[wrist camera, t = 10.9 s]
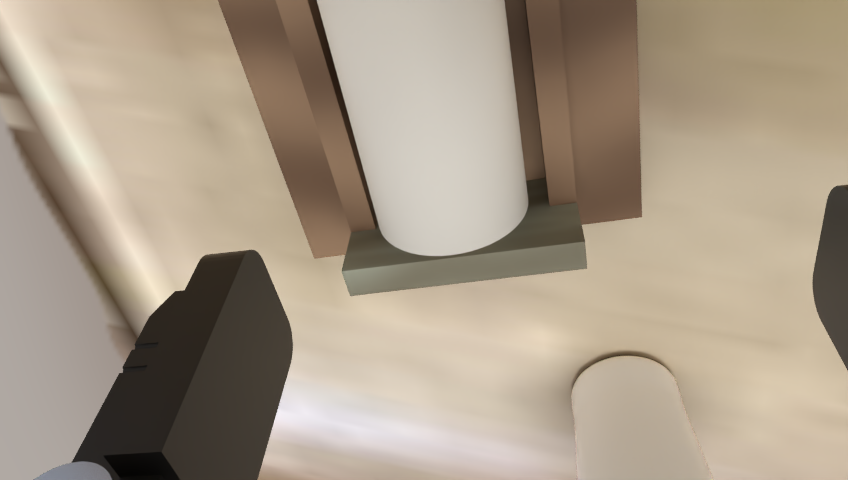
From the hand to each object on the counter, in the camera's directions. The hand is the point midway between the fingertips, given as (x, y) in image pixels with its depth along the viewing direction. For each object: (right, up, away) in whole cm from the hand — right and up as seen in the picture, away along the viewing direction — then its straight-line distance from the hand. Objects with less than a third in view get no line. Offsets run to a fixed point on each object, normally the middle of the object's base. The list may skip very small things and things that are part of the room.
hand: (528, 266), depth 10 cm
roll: (-1, +8, +14) cm, 16 cm away
